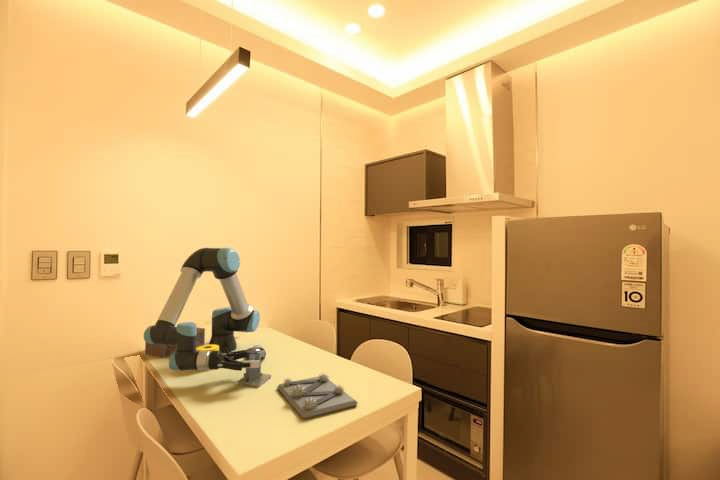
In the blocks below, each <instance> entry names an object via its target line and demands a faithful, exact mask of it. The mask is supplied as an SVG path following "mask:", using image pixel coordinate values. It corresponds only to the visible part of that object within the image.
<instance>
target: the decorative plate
mask: <svg viewBox="0 0 720 480" xmlns="http://www.w3.org/2000/svg"><path fill="white" fill-rule="evenodd" d="M276 387H277V389H278V391H279V392H281V394H282V395H283V397H285V398H286V400H287V401H288V403H290V405H291V406H292V407H293V408H294V409H295V411H296V412H297V413H298V414H299V416H300V417H301V418H302V419H304V420H308V419H311V418H315V417H319V416H323V415H326V414H330V413H335V412H337V411H342V410H344V409H345V410H346V409H349V408H353V407H356V406H357V405H358V401H357V400H355V399H354V397H352V396H350V395H349V394H348V393H347V392H345V388H344V386H343V385H342V384H337V385H336V384H335V383H334V382H333V381H331V380H330V375H329V374H327V372H326V373H325V372H323V373H319V376H314V377H309V378H304V379H298V380H293V379H292V378H291V377H287V378H285V379H284V382H283V383H279V384H278V385H277V386H276Z"/></svg>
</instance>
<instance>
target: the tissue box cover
mask: <svg viewBox="0 0 720 480" xmlns="http://www.w3.org/2000/svg"><path fill="white" fill-rule="evenodd" d="M196 331H197V338H196V348H197V347H199V346H202V345H205V339H206V335H205V334H206V332H205V331H206V328H203V327H197V326H196ZM144 343H145V349H144V355H146V354H149V355H148V356H151V355H152V357H157V358H161V359H165V358H168V357H169V358H170V356H171V354H172V353H173V352H176V346H174V345H160V344H157V345H156V344H150V343H147V342H145V341H144Z"/></svg>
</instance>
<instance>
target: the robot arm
mask: <svg viewBox="0 0 720 480" xmlns="http://www.w3.org/2000/svg"><path fill="white" fill-rule="evenodd" d="M240 261H241V259H240V255H239V253H238V252H237V251H236V250H235V249H233V248H230V247H229V248H228V247H221V248H220V247H216V248H215V247H201V248H199V249H197V250H196V251H194V252H192V253H191V254H190V255H189V256H188V258H186V260H185V261H184V263H182V266H181V267H180V272H181V273H180V274H179V277H178V278H177V281H176V283H175V284H174V285H173V286H174V287H173V288H172V291H171V293H170V295H169V296H168V299H167V300H166V303H165V304H164V307H163V308H162V310H161V312H160V314H159V316H158V318H157V320H156V322H155V324H154V325H149V326H148V327H146V329H145V330H144V332H143V340H144V343H145V342H147V343H150V344H156V345H157V344H160V345H174V346H176V352H173V353H172V354H171V356H169V360H168V367H169V369H170V370H171V371H178V372H179V371H180V372H184V371H185V372H186V371H198V370H202V371H201V372H205V371H204V370H208V369H210V370H208V371H212V370H220V369H225V370H231V371H239V372H241V371H243V369H246V368H259V360H257V361H244V360H242V361H240V360H241V359H244V358H246V352H247V349H243V350H237V348H238V343H237V341H236V337H235V332H237V333H238V332H239V333H240V332H241V333H253V332H255V331H256V330H257V328H258V327H259V324H260V320H261V314H260V312H259V311H258V310H254V309H253V306H252V305H251V304H250V303H248V300H247V298H246V295H245V293H244V292H245V291H244V290H243V288H242V285H241V282H240V279H239V276H238V274H237V273H238V271H239V268H240V264H241V262H240ZM205 272H211V273H212V274H213V276H214V278H215V279H216V280H218V281H219V282H220V285H221V287H222V289H223V292H224V294H225V296H226V299H227V301H228V303H229V304H228V305H229V306H227V307H226V306H225V307H220V308H216V309H213V311H212V314H211V337H210V340H209V343H208V345H210V344H214V345H219V351H212V352H211V351H196V338H197V331H196V327H197V324H196V322H193V321H185V322H181V323H178V324H177V322H178V321H179V319H180V317H181V314H182V312H183V310H184V309H185V308H184V307H185V306H186V304H187V302H188V299H189V297H190V296H191V293H192V291H193V289H194V287H195V285H196V282H197V280H198V279H200V278H201V277H202V275H203V273H205ZM222 353H223V354H222ZM224 353H225V354H224ZM261 357H264V351H261Z"/></svg>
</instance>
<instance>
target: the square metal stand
mask: <svg viewBox="0 0 720 480" xmlns="http://www.w3.org/2000/svg"><path fill="white" fill-rule="evenodd" d="M271 379H272V375H271V374H265V373H262V377H260V379H257V380H247V379H246V377H244V376H243V377H242V378H240V379H238V380H237V385H239V386H244V387H245V386H246V387H255V388H260V387H261V386H263V385H264V384H265V383H267V382H268V381H269V380H271Z"/></svg>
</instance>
